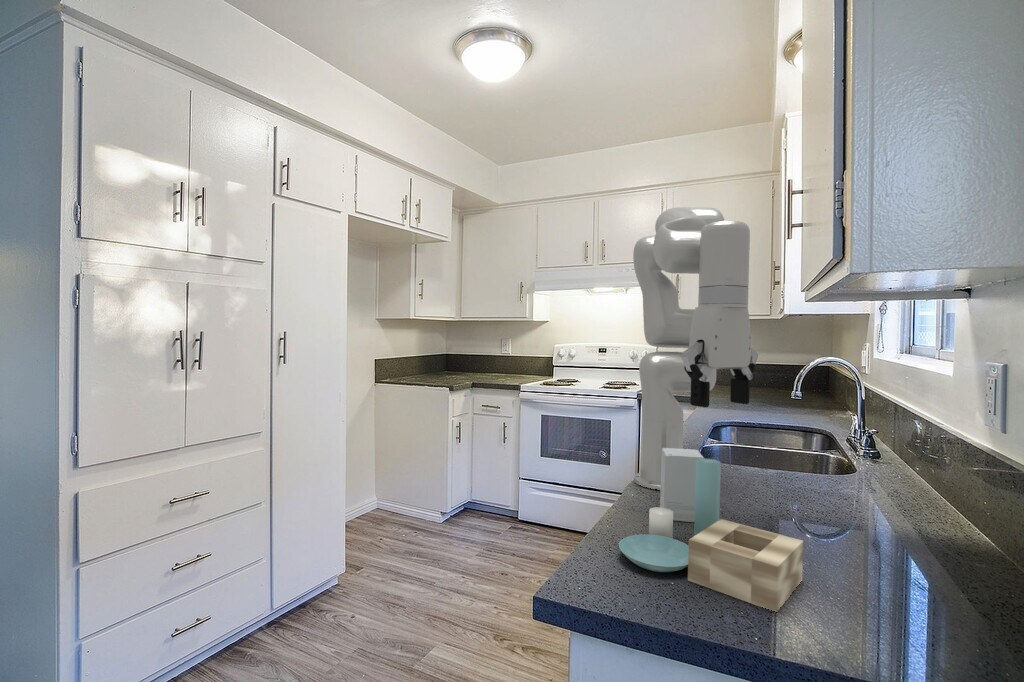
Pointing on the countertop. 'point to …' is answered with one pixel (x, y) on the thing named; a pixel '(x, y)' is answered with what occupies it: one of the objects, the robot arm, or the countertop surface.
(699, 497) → the teal dowel
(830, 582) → the countertop surface
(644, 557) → the saucer
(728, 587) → the birch hole block
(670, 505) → the supplement box
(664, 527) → the short off-white stub
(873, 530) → the countertop surface
